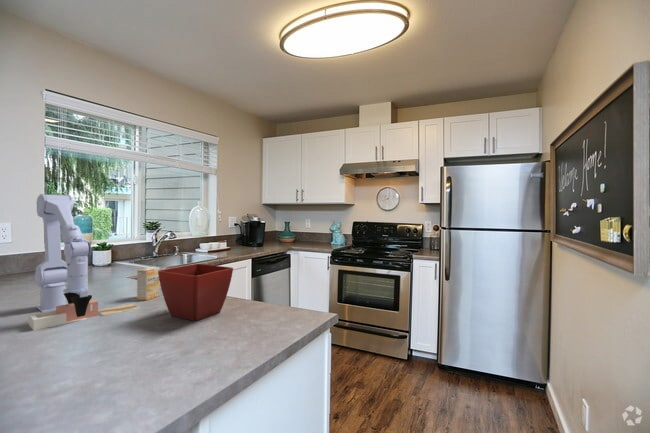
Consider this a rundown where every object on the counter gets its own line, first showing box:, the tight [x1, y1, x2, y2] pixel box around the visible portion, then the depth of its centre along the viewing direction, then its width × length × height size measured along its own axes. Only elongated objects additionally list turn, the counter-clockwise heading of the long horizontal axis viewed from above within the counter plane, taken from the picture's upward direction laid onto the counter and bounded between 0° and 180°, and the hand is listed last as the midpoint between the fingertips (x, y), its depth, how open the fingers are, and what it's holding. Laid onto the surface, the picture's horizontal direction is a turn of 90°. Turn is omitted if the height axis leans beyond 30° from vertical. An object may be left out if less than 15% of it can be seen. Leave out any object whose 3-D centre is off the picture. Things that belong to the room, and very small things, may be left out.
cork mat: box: [98, 303, 141, 317], centre depth 122 cm, size 9×13×1 cm
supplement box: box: [136, 266, 161, 302], centre depth 139 cm, size 8×5×13 cm, turn 168°
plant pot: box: [158, 263, 234, 322], centre depth 118 cm, size 19×19×17 cm
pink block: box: [56, 299, 99, 322], centre depth 112 cm, size 4×11×5 cm, turn 142°
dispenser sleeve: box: [28, 310, 104, 331], centre depth 110 cm, size 8×19×4 cm, turn 142°
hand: (77, 313), depth 112 cm, fingers open, 7 cm apart
